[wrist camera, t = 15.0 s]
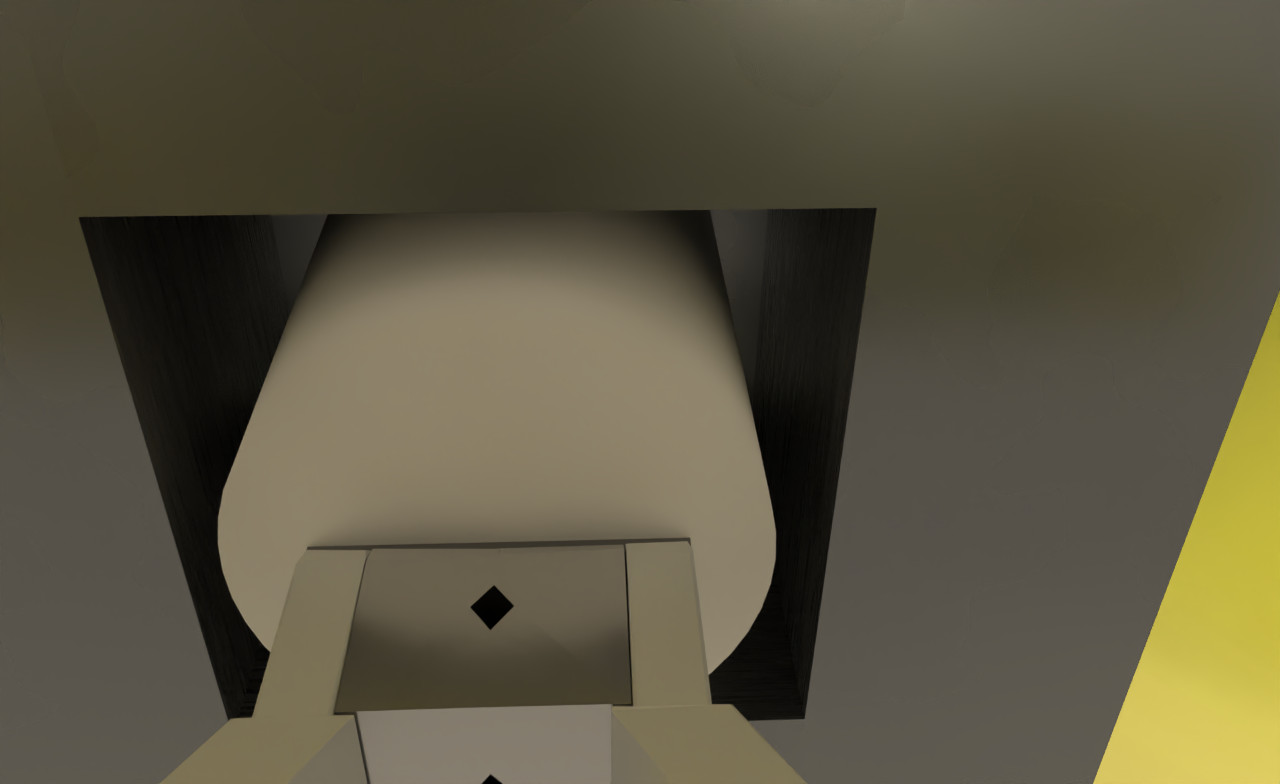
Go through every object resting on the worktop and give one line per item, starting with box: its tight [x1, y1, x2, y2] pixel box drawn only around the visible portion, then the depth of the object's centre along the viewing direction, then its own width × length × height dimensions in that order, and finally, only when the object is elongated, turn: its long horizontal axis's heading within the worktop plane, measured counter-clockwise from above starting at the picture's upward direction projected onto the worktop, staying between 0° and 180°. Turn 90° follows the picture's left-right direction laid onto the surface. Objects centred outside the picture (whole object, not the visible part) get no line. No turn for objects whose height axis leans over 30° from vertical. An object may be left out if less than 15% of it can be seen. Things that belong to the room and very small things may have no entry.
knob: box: [218, 210, 776, 675], centre depth 11 cm, size 4×4×5 cm
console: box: [0, 0, 1280, 784], centre depth 16 cm, size 12×23×6 cm, turn 179°
